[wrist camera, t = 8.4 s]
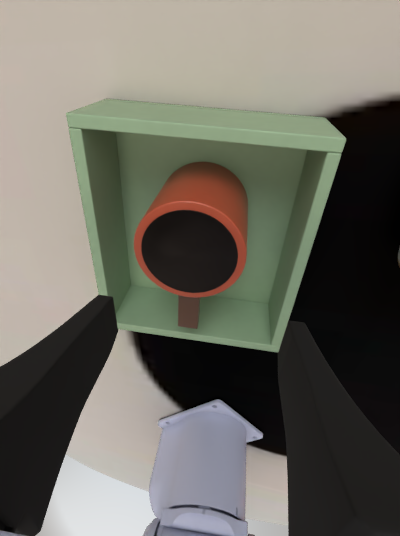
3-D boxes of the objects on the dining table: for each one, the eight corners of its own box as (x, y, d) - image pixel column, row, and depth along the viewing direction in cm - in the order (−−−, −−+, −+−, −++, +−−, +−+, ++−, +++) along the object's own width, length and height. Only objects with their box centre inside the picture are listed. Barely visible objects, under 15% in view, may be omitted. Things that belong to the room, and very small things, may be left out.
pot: (160, 156, 18) (128, 194, 13) (254, 166, 17) (255, 209, 13) (162, 273, 23) (140, 330, 18) (236, 282, 22) (231, 343, 18)
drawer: (274, 305, 24) (278, 352, 20) (126, 285, 24) (104, 327, 21) (325, 117, 16) (347, 138, 12) (105, 98, 17) (65, 112, 13)
